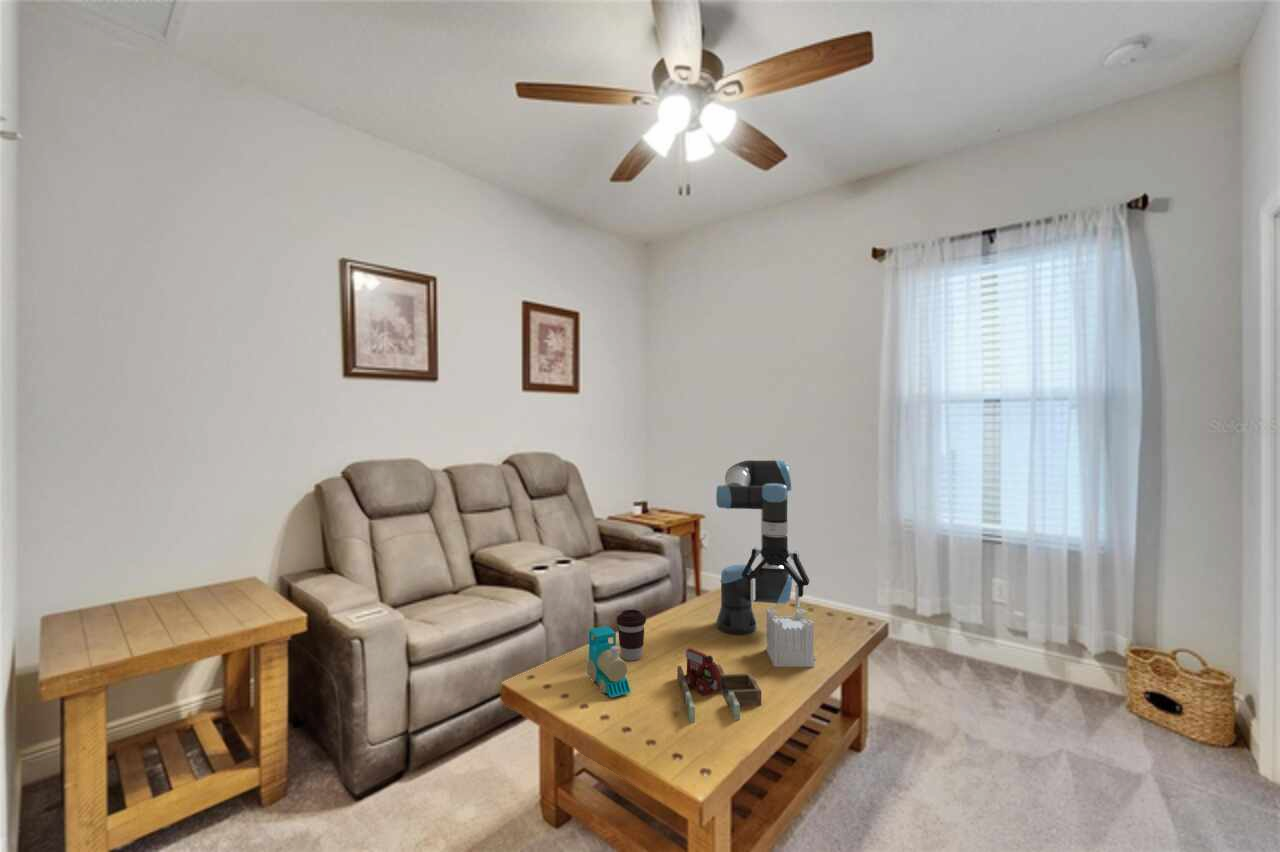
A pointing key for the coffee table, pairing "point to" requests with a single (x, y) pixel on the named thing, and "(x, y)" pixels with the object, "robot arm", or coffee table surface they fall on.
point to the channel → (688, 700)
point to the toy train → (606, 663)
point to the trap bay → (742, 689)
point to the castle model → (790, 640)
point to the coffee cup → (631, 634)
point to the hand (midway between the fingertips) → (774, 603)
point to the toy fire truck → (701, 672)
